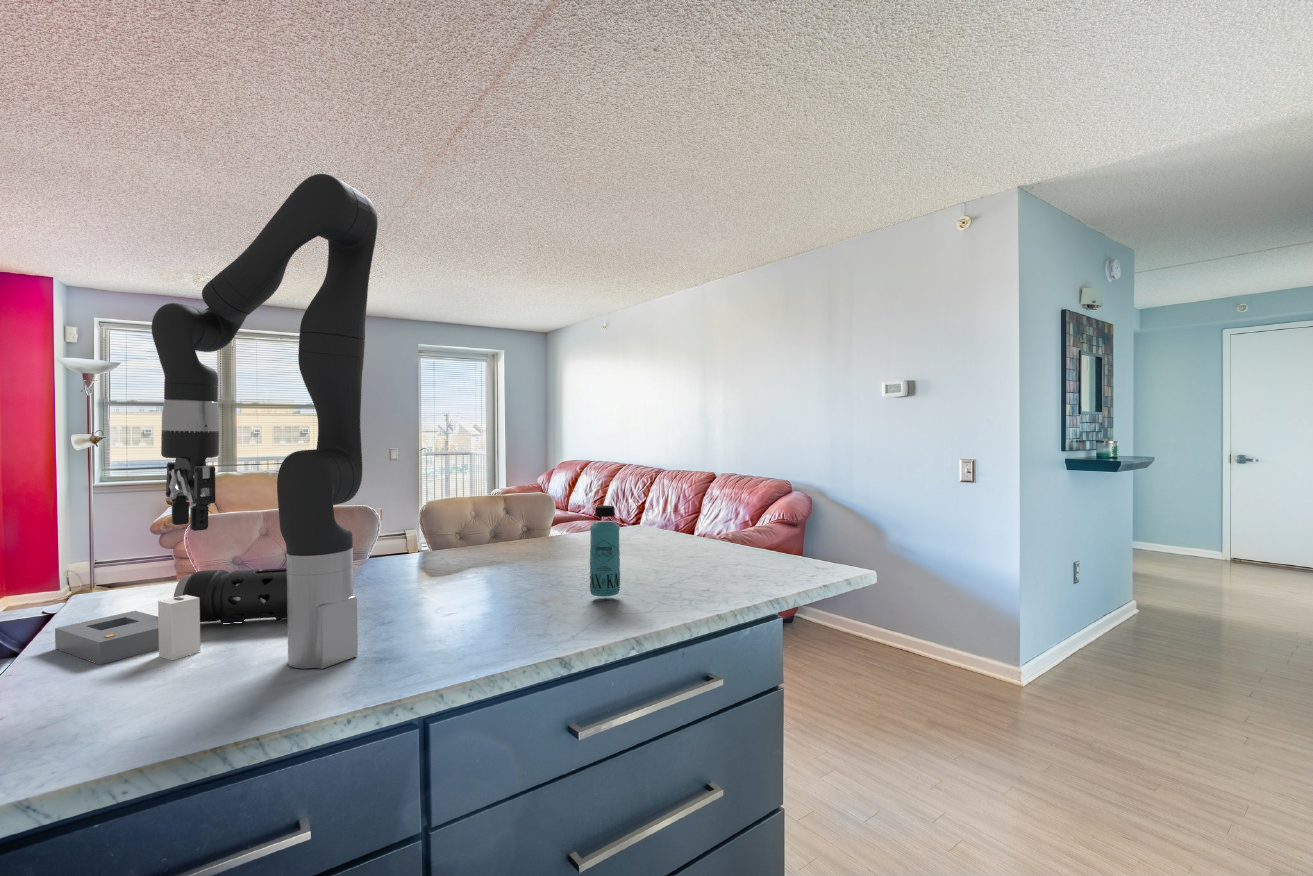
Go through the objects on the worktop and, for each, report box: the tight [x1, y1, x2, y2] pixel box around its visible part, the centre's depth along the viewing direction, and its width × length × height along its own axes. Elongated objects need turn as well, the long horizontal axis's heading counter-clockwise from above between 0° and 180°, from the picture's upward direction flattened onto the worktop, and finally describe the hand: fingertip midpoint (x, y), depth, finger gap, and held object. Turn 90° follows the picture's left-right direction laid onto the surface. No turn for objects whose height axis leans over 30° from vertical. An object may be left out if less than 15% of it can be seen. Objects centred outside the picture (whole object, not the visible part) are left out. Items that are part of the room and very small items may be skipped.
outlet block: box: [54, 610, 159, 666], centre depth 103 cm, size 16×11×4 cm
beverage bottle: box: [588, 505, 621, 598], centre depth 128 cm, size 6×7×20 cm
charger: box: [157, 595, 201, 661], centre depth 99 cm, size 4×4×9 cm
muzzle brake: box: [173, 567, 287, 625], centre depth 116 cm, size 10×28×10 cm, turn 102°
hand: (189, 527), depth 100 cm, fingers open, 8 cm apart
